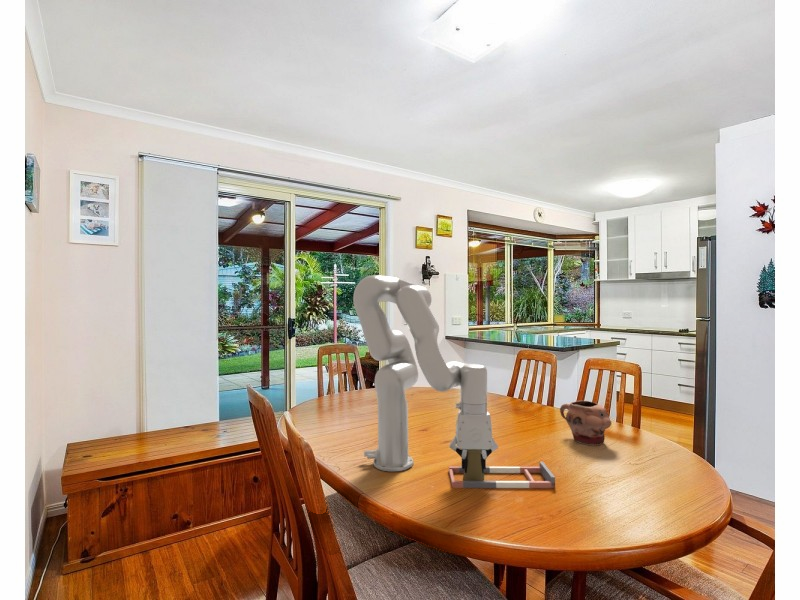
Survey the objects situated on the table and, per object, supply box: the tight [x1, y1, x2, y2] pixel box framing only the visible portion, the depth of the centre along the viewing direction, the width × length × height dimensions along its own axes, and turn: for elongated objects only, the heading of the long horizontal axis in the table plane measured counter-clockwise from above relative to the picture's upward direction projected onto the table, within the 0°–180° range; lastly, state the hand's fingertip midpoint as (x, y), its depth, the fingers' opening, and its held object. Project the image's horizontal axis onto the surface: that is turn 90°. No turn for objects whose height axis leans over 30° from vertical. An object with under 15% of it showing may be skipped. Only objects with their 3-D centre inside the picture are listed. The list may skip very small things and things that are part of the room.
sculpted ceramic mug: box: [559, 400, 612, 446], centre depth 153 cm, size 20×12×14 cm, turn 38°
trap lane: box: [448, 461, 556, 489], centre depth 122 cm, size 28×11×3 cm, turn 88°
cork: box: [462, 450, 485, 481], centre depth 122 cm, size 6×6×11 cm
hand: (473, 470), depth 122 cm, fingers closed on cork, 4 cm apart
